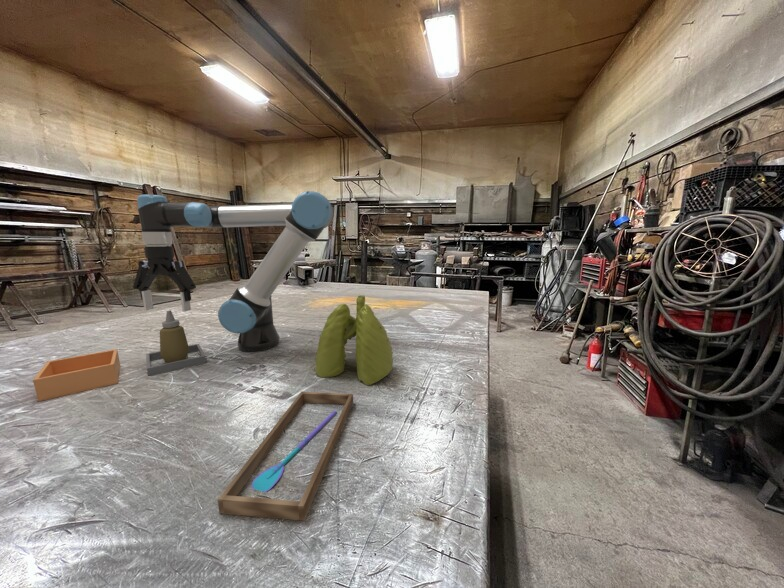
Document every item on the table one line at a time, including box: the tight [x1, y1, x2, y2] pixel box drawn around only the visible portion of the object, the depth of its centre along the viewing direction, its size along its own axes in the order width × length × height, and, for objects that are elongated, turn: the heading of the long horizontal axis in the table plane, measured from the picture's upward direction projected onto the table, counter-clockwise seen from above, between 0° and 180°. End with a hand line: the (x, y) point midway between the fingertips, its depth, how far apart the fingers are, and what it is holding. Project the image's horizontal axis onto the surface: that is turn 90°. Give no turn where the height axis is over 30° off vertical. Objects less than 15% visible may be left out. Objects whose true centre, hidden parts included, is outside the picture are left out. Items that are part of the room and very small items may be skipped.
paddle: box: [250, 410, 338, 493], centre depth 62 cm, size 25×4×1 cm, turn 161°
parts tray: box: [145, 343, 207, 377], centre depth 104 cm, size 16×16×2 cm
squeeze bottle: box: [159, 310, 189, 364], centre depth 102 cm, size 8×8×18 cm
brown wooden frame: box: [217, 391, 354, 521], centre depth 62 cm, size 14×33×2 cm, turn 174°
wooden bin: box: [32, 348, 121, 402], centre depth 89 cm, size 16×16×6 cm
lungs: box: [314, 294, 394, 386], centre depth 93 cm, size 25×16×24 cm, turn 69°
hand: (167, 310), depth 101 cm, fingers open, 13 cm apart
